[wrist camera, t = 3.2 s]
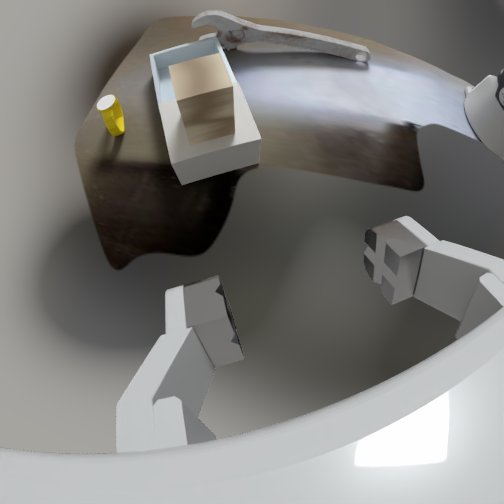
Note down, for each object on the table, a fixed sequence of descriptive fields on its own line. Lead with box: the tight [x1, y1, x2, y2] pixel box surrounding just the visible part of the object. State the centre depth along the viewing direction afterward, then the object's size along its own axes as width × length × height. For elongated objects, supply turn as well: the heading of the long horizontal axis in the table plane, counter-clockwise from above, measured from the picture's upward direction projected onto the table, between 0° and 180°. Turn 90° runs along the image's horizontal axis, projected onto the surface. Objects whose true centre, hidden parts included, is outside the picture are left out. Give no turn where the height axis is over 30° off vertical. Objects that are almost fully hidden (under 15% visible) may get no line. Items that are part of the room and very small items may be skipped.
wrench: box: [191, 10, 371, 62], centre depth 37 cm, size 8×2×30 cm
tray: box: [150, 37, 237, 115], centre depth 36 cm, size 11×13×4 cm
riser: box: [159, 83, 261, 185], centre depth 33 cm, size 10×9×6 cm
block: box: [168, 53, 235, 146], centre depth 27 cm, size 5×5×8 cm
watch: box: [97, 95, 125, 136], centre depth 34 cm, size 6×3×6 cm, turn 16°
